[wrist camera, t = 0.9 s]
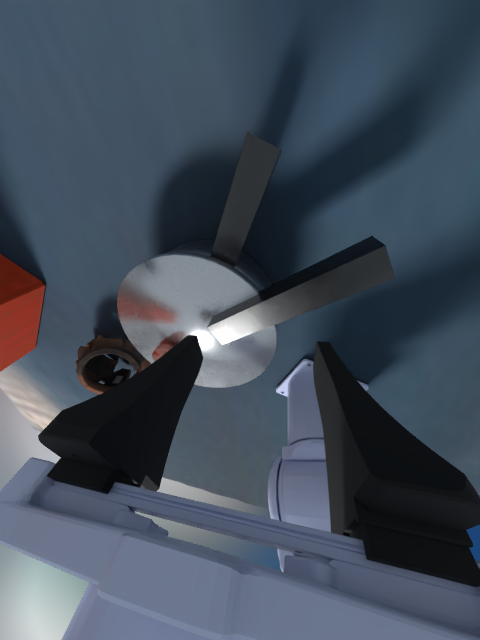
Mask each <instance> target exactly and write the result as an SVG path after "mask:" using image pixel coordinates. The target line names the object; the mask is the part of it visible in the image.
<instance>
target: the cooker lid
mask: <svg viewBox="0 0 480 640" xmlns="http://www.w3.org/2000/svg"><path fill="white" fill-rule="evenodd" d="M394 278H395V277H394V274H393V270H392V267H391V263H390V259H389V256H388V252H387V249H386V245H384V244H383V243H381V242H380V241H378V240H377V239H376V238H374V237H373V236H371V237H369V238H367V239H365V240H363V241H361V242H359V243H356V244H354V245H352V246H350V247H348V248H346V249H344V250H342V251H340V252H338V253H336V254H334V255H332V256H330V257H328V258H326V259H324V260H322V261H320V262H318V263H316V264H314V265H312V266H310V267H308V268H306V269H303V270H301V271H299V272H297V273H295V274H293V275H291V276H289V277H287V278H285V279H283V280H281V281H279V282H277V283H275V284H273V285H271V286H269V287H267V288H265V289H263V290H261V291H260V289H259V288H258V287H257V286H256V285H255V284H254V283H253V282H252V281H251V280H250V279H249V278H248V277H247V276H245V275H244V274H243V273H242V272H240V271H239V270H237V269H236V268H234V267H233V266H231V265H229V264H227V263H225V262H223V261H221V260H219V259H216V258H213V257H210V256H207V255H204V254H199V253H194V252H168V253H164V254H160V255H157V256H155V257H152V258H150V259H148V260H146V261H145V262H143V263H141V264H140V265H138V266H137V267H135V268H134V269H133V270H132V271H131V272H130V273H129V274H128V275H127V276H126V277H125V279H124V280H123V282H122V284H121V286H120V289H119V292H118V298H117V309H118V315H119V319H120V322H121V325H122V327H123V330H124V332H125V333H126V335H127V337H128V339H129V340H130V341H131V343H132V344H133V346H134V347H135V348H136V349H137V350H138V351H139V352H140V353H141V354H142V355H143V356H144V357H145V358H146V359H147V360H148V361H149V362H151V363H153V362H155V361H156V360H157V359H159V358H160V357H161V356H163V355H164V354H165V353H166V352H168V351H169V350H170V349H171V348H173V347H174V346H175V345H176V344H177V343H179V342H180V341H181V340H182V339H184V338H185V337H186V336H187V335H197V337H198V340H199V344H200V347H201V351H202V355H203V362H202V365H201V368H200V371H199V374H198V376H197V379H196V381H195V383H194V384H195V385H199V386H205V387H215V388H223V387H232V386H237V385H241V384H244V383H247V382H249V381H251V380H253V379H255V378H256V377H258V376H259V375H260V374H261V373H262V372H264V371H265V369H266V368H267V367H268V366H269V364H270V362H271V361H272V359H273V356H274V353H275V349H276V341H277V326H276V324H278V323H281V322H283V321H286V320H288V319H291V318H294V317H296V316H299V315H301V314H304V313H306V312H309V311H312V310H314V309H317V308H319V307H322V306H325V305H327V304H330V303H332V302H335V301H337V300H340V299H343V298H345V297H348V296H350V295H353V294H356V293H358V292H361V291H363V290H366V289H368V288H371V287H374V286H376V285H379V284H381V283H384V282H386V281H389V280H392V279H394Z"/></svg>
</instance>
